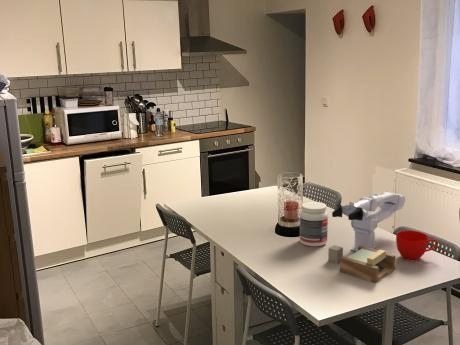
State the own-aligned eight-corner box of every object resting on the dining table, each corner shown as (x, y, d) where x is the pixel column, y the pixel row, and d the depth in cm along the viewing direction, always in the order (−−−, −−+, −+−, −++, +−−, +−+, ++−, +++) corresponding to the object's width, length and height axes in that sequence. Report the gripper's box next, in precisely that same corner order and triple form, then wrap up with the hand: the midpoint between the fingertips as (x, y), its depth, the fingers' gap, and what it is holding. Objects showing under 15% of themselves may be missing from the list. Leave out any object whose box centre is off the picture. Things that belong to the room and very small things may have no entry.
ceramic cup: (439, 265, 213) (441, 242, 210) (396, 262, 216) (398, 240, 214) (433, 253, 225) (435, 231, 223) (393, 250, 229) (394, 229, 226)
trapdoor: (361, 250, 217) (361, 244, 217) (385, 257, 210) (386, 250, 209) (347, 259, 209) (347, 252, 208) (371, 266, 202) (372, 259, 201)
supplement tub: (329, 247, 234) (330, 209, 230) (301, 248, 235) (301, 209, 230) (325, 237, 247) (325, 200, 242) (298, 237, 247) (298, 201, 243)
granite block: (333, 257, 223) (334, 244, 222) (342, 260, 220) (343, 247, 219) (328, 261, 220) (328, 248, 219) (337, 263, 217) (337, 250, 216)
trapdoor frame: (359, 258, 222) (360, 245, 220) (394, 268, 211) (395, 255, 209) (339, 271, 210) (339, 257, 208) (375, 282, 199) (376, 268, 198)
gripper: (342, 197, 226) (325, 204, 216) (372, 201, 216) (356, 209, 207) (342, 213, 227) (326, 220, 218) (372, 218, 218) (356, 225, 208)
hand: (340, 216), depth 212 cm, fingers open, 7 cm apart
